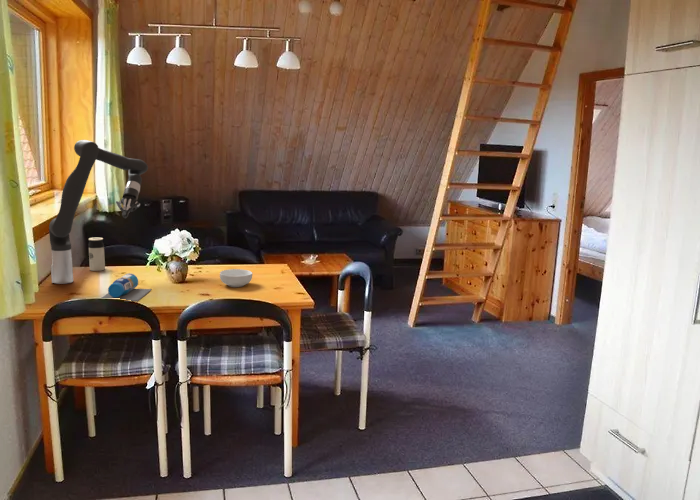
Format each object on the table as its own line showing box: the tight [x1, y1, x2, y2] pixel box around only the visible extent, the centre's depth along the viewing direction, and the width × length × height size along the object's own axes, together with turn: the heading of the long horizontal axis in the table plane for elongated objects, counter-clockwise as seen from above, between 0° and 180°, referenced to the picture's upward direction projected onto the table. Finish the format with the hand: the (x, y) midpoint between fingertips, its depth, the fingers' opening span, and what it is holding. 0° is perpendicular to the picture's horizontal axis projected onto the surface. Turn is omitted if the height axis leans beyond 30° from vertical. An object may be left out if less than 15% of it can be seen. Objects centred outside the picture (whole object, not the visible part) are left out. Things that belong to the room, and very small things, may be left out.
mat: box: [101, 288, 152, 302], centre depth 283 cm, size 18×21×1 cm
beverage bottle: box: [107, 272, 139, 297], centre depth 283 cm, size 8×8×20 cm
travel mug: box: [87, 237, 106, 272], centre depth 330 cm, size 8×8×18 cm
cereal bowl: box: [219, 268, 253, 288], centre depth 307 cm, size 17×17×7 cm
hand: (124, 217), depth 305 cm, fingers closed
